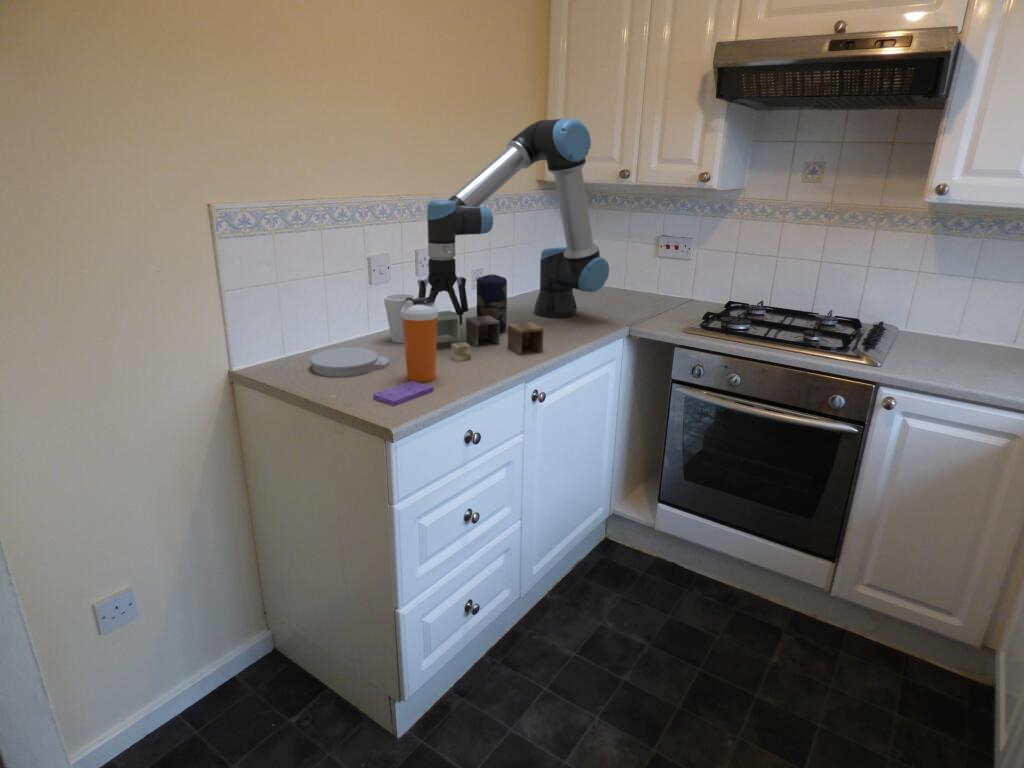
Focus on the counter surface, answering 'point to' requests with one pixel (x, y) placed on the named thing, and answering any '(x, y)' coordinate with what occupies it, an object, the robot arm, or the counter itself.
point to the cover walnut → (525, 336)
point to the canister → (492, 298)
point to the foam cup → (396, 315)
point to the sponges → (402, 393)
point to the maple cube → (460, 351)
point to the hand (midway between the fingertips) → (443, 337)
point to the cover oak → (482, 329)
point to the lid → (347, 362)
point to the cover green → (448, 324)
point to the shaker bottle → (420, 338)
